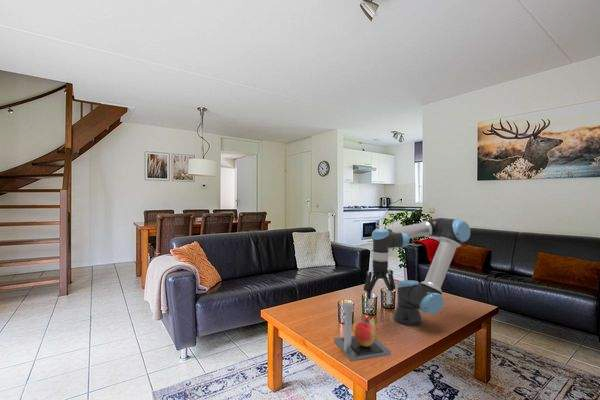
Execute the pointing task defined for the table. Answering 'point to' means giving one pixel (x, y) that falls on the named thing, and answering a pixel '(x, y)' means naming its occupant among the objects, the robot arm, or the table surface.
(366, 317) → the lever
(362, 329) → the apple
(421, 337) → the table surface
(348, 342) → the stand
